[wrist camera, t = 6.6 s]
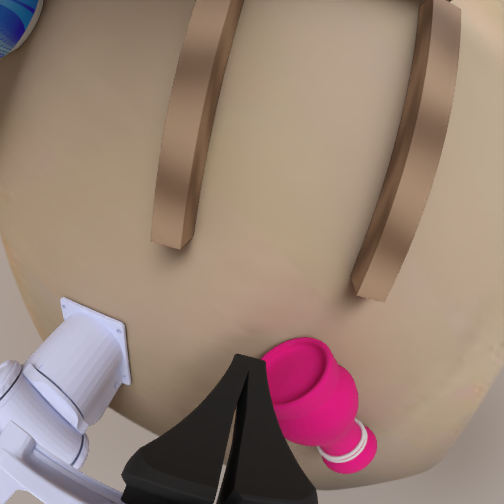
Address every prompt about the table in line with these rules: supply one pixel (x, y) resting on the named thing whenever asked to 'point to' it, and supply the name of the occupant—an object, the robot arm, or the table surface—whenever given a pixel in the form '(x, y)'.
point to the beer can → (17, 22)
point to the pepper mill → (318, 404)
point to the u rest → (402, 161)
